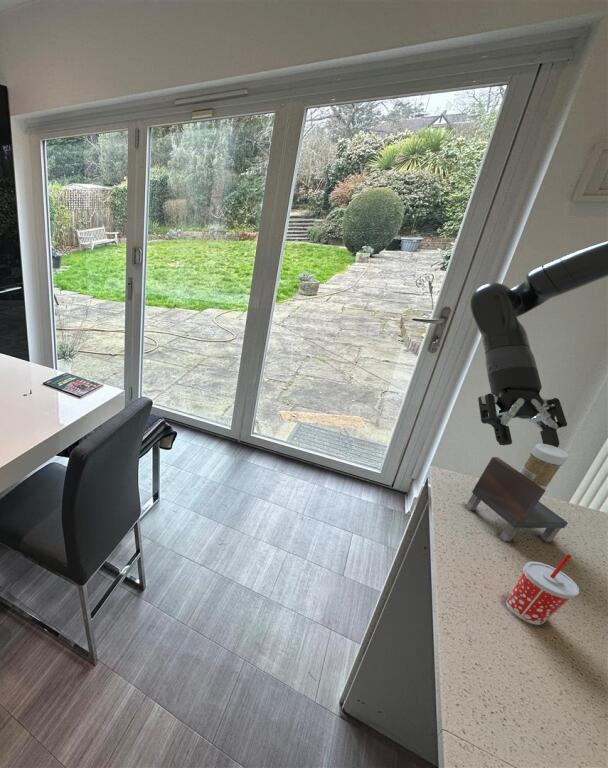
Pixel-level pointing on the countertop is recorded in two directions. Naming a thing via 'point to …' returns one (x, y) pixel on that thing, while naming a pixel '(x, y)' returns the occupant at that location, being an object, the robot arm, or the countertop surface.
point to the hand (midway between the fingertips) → (528, 446)
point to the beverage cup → (541, 592)
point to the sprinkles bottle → (543, 464)
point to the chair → (514, 500)
